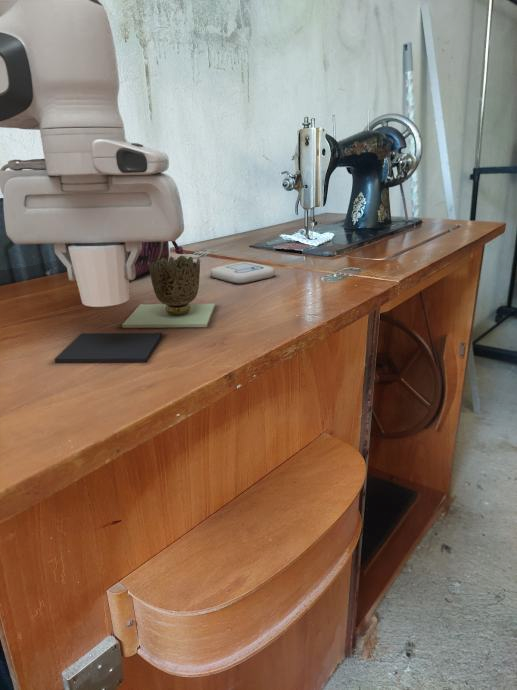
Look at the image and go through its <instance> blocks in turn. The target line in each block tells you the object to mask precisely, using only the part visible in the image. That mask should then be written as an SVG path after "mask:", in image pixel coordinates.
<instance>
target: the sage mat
mask: <svg viewBox="0 0 517 690" xmlns="http://www.w3.org/2000/svg"><path fill="white" fill-rule="evenodd" d="M189 305H190V311H189V313H187V314H185V315H181V316H172V315H169V314H168V313H167V312H166V310H165V308H166V305H165V304H163V303H160V304H159V303H158V304H157V303H154V304H153V303H151V304H146V303H145V304H143V303H141V304H139V305H138V306H137V307H136V308H135V310H134V311H132V313H131V314H130V315H129V316H128V317H127V319H125V321H124V322H123V323H122V324H121V327H122V329H151V328H152V329H155V328H158V329H159V328H160V329H161V328H164V329H165V328H168V329H169V328H207V327H208V325H209V324H210V323H209V322H210V320H211V318H212V315H213V313H214V310H215V308H216V303H189Z"/></svg>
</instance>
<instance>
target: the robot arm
mask: <svg viewBox="0 0 517 690" xmlns="http://www.w3.org/2000/svg"><path fill="white" fill-rule="evenodd" d="M119 91H120V75H119V68H118V60H117V53H116V46H115V40H114V36H113V31H112V27H111V24H110V19H109V16H108V14H107V11H106V9H105V7H104V5H103V4H102V3H101V2H100V1H99V0H0V128H6V129H19V130H31V131H33V130H34V131H39V133H40V139H41V146H42V152H43V158H32V159H23V160H22V159H11V160H8V161H7V163H6V164H4V165H3V166H2V167H1V168H0V192H1V194H2V196H3V198H2V199H3V200H2V202H3V216H4V217H3V219H4V227H5V233H6V236H7V237H8V239H9V240H10V241H11V242H12V243H13V244H14V245H48V244H53V245H52V246H53V250H54V254H55V255H56V257H57V258H58V259H59V261H60V262H61V263H62V264H63V265H64V267H65V268H66V270H67V277H68V280H69V281H70V282H77V281H76V277H75V273H74V269H73V265H72V261H71V257H70V253H69V249H68V246H69V245H70V244H73V243H111V242H125V247H126V251H127V252H130V251H131V253H130V256H129V258H128V260H127V263H126V265H125V266H124V278H125V280H129V281H133V280H134V279H136V278H137V277H136V273H135V263H136V260H137V258H138V256H139V254H140V252H141V250H142V242H165V241H168V242H171V241H175V242H176V241H177V240H178V239H179V238H180V237H181V236H182V234H184V231H185V220H184V212H183V207H182V200H181V196H180V192H179V189H178V185H177V183H176V181H175V180H174V179H173V177H171V176H170V175H169V174H167V173H164V172H167V171H168V169H169V168H170V159H169V156H168V154H167V153H166V152H164V151H161V150H158V149H154V148H151V147H147V146H145V145H144V144H141V143H137V142H131V141H128V139H127V138H126V132H125V124H124V120H123V118H122V115H121V113H120V109H119V108H120V107H119ZM7 169H9V170H7ZM135 277H136V278H135Z"/></svg>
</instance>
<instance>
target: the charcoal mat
mask: <svg viewBox="0 0 517 690" xmlns="http://www.w3.org/2000/svg"><path fill="white" fill-rule="evenodd" d="M162 338H163V332H96V333H95V332H91V333H90V332H86V333H85V332H84V333H83V332H82V333H80V334H79V335H77V337H76V338H75V339H74V340H73V341H72V342H70V344H68V346H67V347H65V349H63V350H62V351H61V352H60V353H59V354H58V355H57V356H56V357H55V358H54V363H55V364H56V363H59V364H60V363H64V364H65V363H147V362H148V360H149V358H150V357H151V355H152V354H153V352H154V350H155V349H156V348H157V346H158V344H159V342H160V341H161V339H162Z"/></svg>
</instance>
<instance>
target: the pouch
mask: <svg viewBox="0 0 517 690" xmlns="http://www.w3.org/2000/svg"><path fill="white" fill-rule="evenodd" d="M170 242H171V243H172V245H173V247H174V252H175V253H176V254H177V255H184V252H183V251H184V249H183V246H181V245H180V246H179V245H178V243H177V242H176V240H175V241H170ZM169 245H170V243H169V241H165V242H142V250H141V252H140V254H139V256H138V258H137V260H136V263H135V273H136V277H135V279H136V278H138V277H140V276H142V275H144V274H147V273H150V271H149V266H148V262H149V263H151V260H152V261H153V263H155V262H156V260H157V258H159V260H161V259H162V258H165V259H166V260H167V261H168V262H169V258H170V246H169ZM130 253H131V251H130V252H128V258H129V256H130Z"/></svg>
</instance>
